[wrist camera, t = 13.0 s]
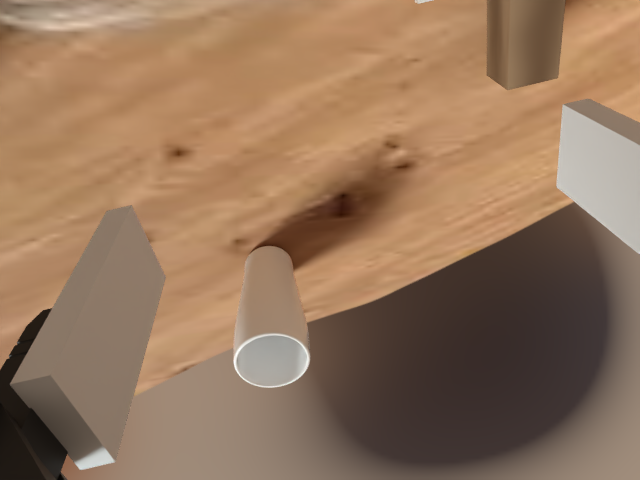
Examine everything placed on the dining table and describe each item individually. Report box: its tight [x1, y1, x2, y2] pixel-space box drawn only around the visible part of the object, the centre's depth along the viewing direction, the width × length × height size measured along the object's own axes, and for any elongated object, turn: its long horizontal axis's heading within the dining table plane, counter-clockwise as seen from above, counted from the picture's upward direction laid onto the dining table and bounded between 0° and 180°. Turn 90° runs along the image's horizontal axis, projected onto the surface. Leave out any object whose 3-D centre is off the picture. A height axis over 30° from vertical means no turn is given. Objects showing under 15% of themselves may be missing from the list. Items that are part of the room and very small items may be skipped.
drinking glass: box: [234, 246, 310, 387], centre depth 48 cm, size 7×7×15 cm
